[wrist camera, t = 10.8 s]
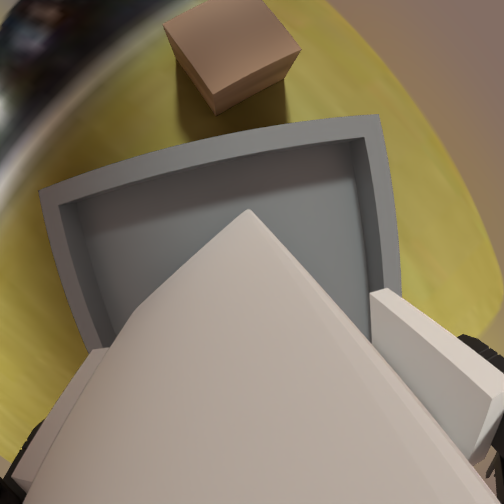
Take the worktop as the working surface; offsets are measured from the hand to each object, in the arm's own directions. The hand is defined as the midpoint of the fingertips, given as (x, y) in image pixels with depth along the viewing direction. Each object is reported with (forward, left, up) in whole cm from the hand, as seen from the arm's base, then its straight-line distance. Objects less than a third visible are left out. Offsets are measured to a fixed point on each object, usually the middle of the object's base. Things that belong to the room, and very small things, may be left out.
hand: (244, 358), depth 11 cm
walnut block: (-12, +2, -6) cm, 13 cm away
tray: (0, 0, -6) cm, 6 cm away
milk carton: (0, 0, -4) cm, 4 cm away
